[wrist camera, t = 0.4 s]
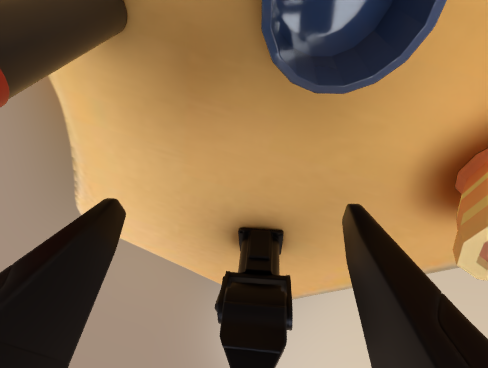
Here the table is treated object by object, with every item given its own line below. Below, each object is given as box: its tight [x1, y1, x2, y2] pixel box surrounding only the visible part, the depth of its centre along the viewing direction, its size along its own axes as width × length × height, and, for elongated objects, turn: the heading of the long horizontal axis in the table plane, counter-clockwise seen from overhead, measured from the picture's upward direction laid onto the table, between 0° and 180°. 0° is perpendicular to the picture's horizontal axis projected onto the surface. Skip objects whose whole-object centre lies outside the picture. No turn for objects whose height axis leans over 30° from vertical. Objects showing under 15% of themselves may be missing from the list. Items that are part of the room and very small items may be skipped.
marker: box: [0, 0, 127, 107], centre depth 12 cm, size 4×4×13 cm
